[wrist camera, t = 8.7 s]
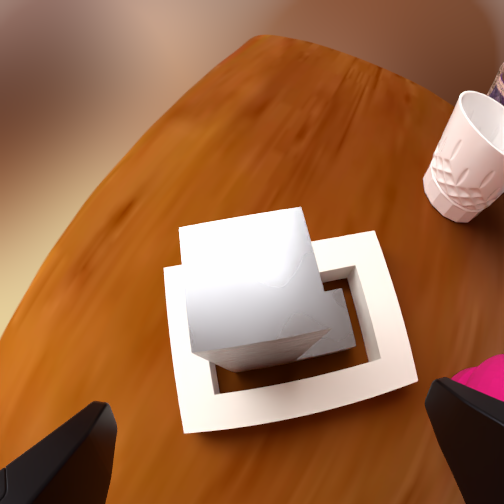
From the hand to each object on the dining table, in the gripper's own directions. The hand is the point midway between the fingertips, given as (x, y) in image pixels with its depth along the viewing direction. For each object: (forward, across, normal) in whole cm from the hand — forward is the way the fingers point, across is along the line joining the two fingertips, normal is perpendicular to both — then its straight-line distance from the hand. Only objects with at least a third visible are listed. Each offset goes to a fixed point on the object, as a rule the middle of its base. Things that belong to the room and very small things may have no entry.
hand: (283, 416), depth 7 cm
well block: (+13, -3, +5) cm, 14 cm away
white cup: (+19, -20, -4) cm, 28 cm away
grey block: (+13, -3, +5) cm, 14 cm away
